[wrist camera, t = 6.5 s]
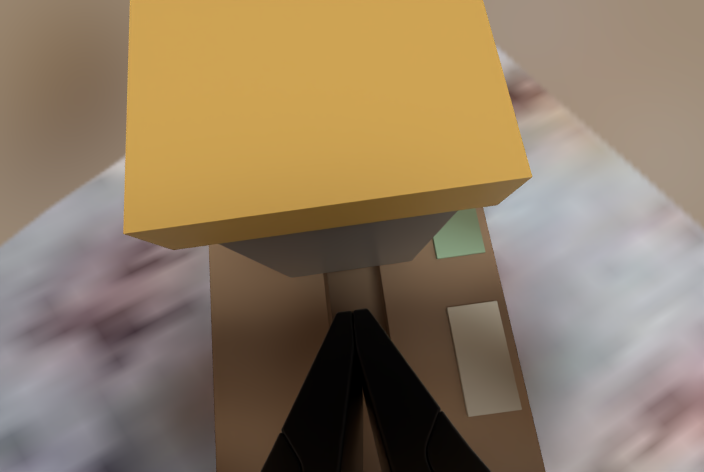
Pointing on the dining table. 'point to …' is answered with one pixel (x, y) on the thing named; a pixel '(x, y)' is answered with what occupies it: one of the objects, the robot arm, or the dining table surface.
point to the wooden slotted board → (399, 324)
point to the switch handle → (314, 127)
